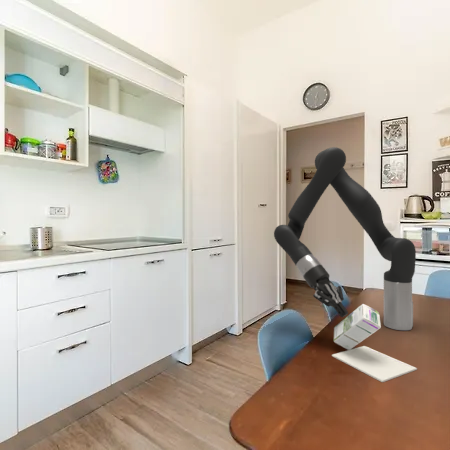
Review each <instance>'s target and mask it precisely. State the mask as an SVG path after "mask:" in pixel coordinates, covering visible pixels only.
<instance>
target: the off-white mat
mask: <svg viewBox="0 0 450 450" xmlns="http://www.w3.org/2000/svg"><path fill="white" fill-rule="evenodd" d="M331 357H333V358H335V359H336V360H338V361H340V362H343V363H344V364H346V365H348V366H350V367H352V368H354V369H356V370H358V371H359V372H362V373H364V374H365V375H367V376H369V377H371V378H373V379H375V380H377V381H379V382H381V383H385V382H387V381H390V380H393V379H395V378H398V377H401V376H403V375H406V374H409V373H412V372H414V371H417V370H418V367H415V366H413V365H410V364H408V363H406V362H403V361H401V360H399V359H396V358H394V357H392V356H389V355H387V354H385V353H382V352H380V351H377V350H375V349H372V348H371V347H368V346H366V345H363V346H359V347H354V348H352V349H350V350H347V349H346V350H345V351H340V352H337V353H333V354H331Z"/></svg>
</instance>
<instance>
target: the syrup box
mask: <svg viewBox="0 0 450 450" xmlns="http://www.w3.org/2000/svg"><path fill="white" fill-rule="evenodd" d="M380 317H381V316H380V312H379V311H378V310H376V309H374V308H373V307H370V306H369V305H367V304H364V303H362V304H361V305H359V306H358V307H357V308H356V309H355V310H353V311H352V312H351V313H349V314H347V315H346V316H345V318H343V319H342V320H341V321H339V323H338V324H336V325H334V327H333V342H334V343H335V344H336V345H338V346H340V347H342V348H344V349H345V350H346V351H347V350H351V349H354V348H356V346H357V345H359V344H360V343H361V342H363V341H364V340H366V339H367V338H369V337H370V336H372V335H373V334H374V333H376V332H377V331H378V330H380V329H381V327H382V326H381V325H382V324H381V318H380Z"/></svg>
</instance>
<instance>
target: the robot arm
mask: <svg viewBox="0 0 450 450" xmlns="http://www.w3.org/2000/svg"><path fill="white" fill-rule="evenodd" d="M346 162H347V156H346V153H345V151H344V150H343V149H341V148H340V147H337V146H336V147H335V146H333V147H329V148H326V149H324V150H322V151H319V153H318V154H317V155H316V156H315V158H314V167H315V169H316V171H315V173H314V175H313V177H312V178H311V180H310V181H309V183H308V184H307V186H306V187H305V188H304V189H303V190H302V192H301V193H300V194H299V196H298V197H297V198H296V200H295V201H294V204H293V205H292V207H291V208H290V210H289V211H288V214H287V217H288V220H289V221H288V223H287V224H279V225H278V226H276V227H275V229H274V231H273V237H274V240H275V241H276V243H277V244H278V246H279V247H281V248H282V249H283V251H284V252H285V253H286V254H287V255H288V257H289V258H290V260H291V261H292V263H294V266H296V268H297V270H298V272H299V273H300V275H301V276H302V278H303V279H304V280H305V282H306V284H307V285H308V286H309V287H310V288H311V289H313V290H314V291H315V292H314V293H313V294H312V297H313V298H314V299H316V300H317V301H319V302H320V303H322V304H324V306H326V307H328V308H329V307H331V308H334V310H335V312H337V314H338V315H339V317H341V318H344V317H347V316H348V315H349V312H348V310H347V309H346V307H345V305H343V303H342V302H343V301H344V300H345V298H344V294H343V289H342V287H341V286H340V285H338V286H336V285H335V284H334V283H333V282H332V281H331V280H330V274H329V273H328V271H327V270H326V268H325V267H324V266H323V264H322V263H321V262H320V260H318V258H317V257H316V256H314V254H313V253H312V252H311V250H310V249H309V248H308V246H306V245H305V244H304V243H303V242H301V240H300V239H301V237H302V234H303V231H304V228H305V225H306V222H307V221H308V219H309V217H310V216H311V214H312V213H313V210H314V209H315V207H316V205H317V204H318V202H319V200H320V199H321V197H322V195H323V194H324V193H325V192H326V190H327V188H328V187H329V185H330V186H331V187H332V188H333V189H334V191H335V192H336V194H337V195H338V196H339V198H340V200H341V201H342V202H343V203H344V205H345V207H347V209H348V211H349V212H350V213H351V215H352V216H353V218H355V220H356V221H357V222H358V223H359V225H360V226H361V227H362V229H363V230H364V231H365V232H366V234H367V235H368V236H369V238H370V240H371V241H372V243H373V244H374V246H375V248H376V250H377V251H378V252H379V254H380V256H381V257H382V258H383V259H385V260H386V261H389V262H390V269H388V270H386V271H385V272H383V325H384V327H387V328H389V329H392V330H397V331H411V330H413V327H414V302H413V277H414V275H415V272H416V258H417V255H416V253H417V252H416V247H415V245H414V243H413V241H411V239H408V238H406V237H405V238H402V237H395V236H394V235H393V234H392V233H391V232H390V231H389V230H388V228H387V227H386V225H385V222H384V219H383V215H382V214H383V212H382V209H381V207H380V205H379V204H378V202H377V200H376V199H375V198H374V197H373V195H372V194H371V193H370V192H369V191H368V190H367V189H366V188H365V187H363V185H361V184H360V183H358V182H357V181H355V180H354V179H353V178H352V177H351V176H350V175H349V174H348V172H347V171H346V169H345V165H346Z"/></svg>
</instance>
